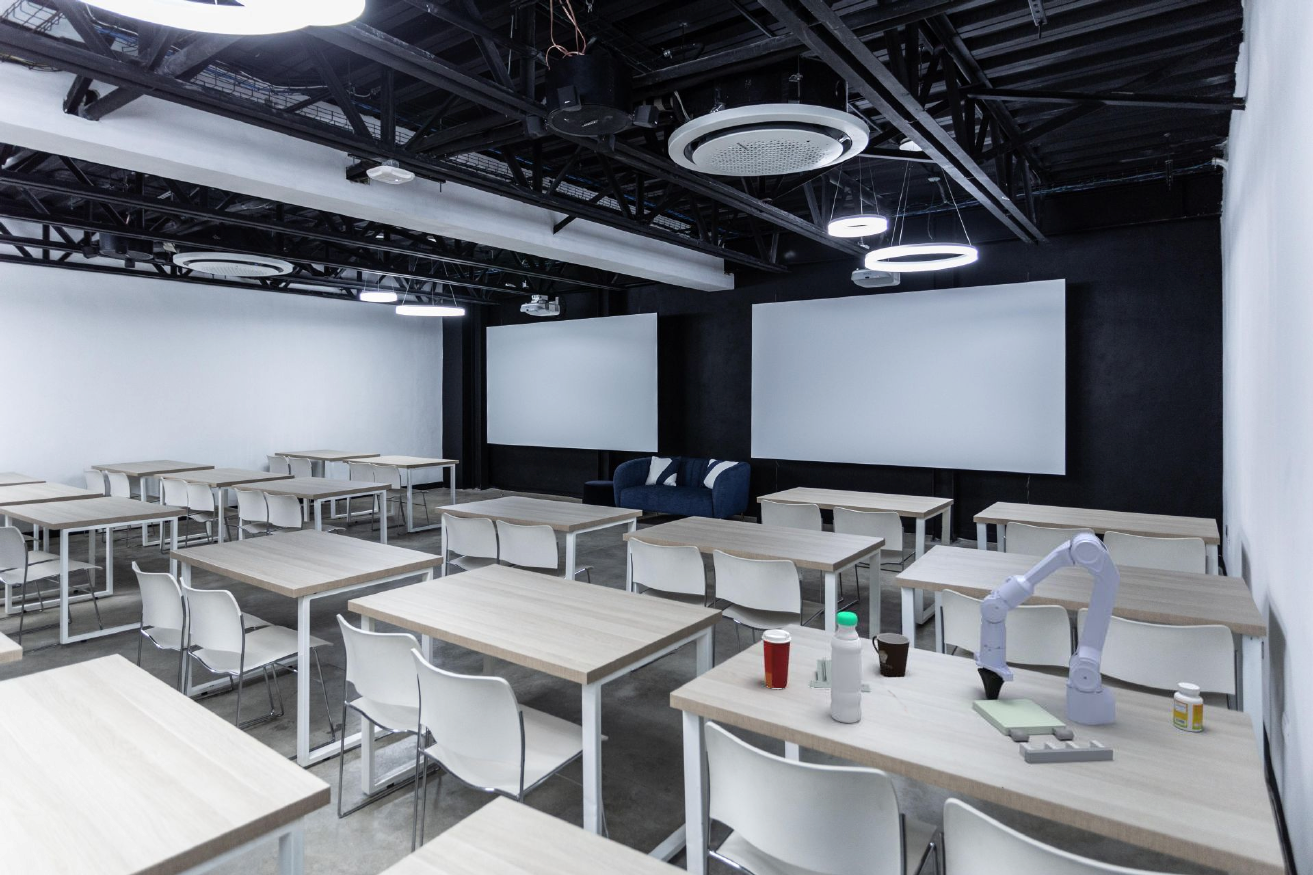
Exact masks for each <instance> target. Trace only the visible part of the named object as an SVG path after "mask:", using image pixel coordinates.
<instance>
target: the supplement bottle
mask: <svg viewBox="0 0 1313 875" xmlns="http://www.w3.org/2000/svg"><path fill="white" fill-rule="evenodd" d="M1177 690H1178V691H1176V692H1175V693H1174V695H1173V712H1172V713H1173V714H1172V715H1173V718H1172V720H1173V721H1172V722H1173V725H1174V726H1175V727H1176V728H1178V729H1180V730H1182V729H1183V731H1186V732H1192V733H1193V732H1194V733H1198V732H1201V731H1202V730H1203V717H1204V715H1203V714H1204V699H1203V698H1202V696H1201V695H1200V692H1201V688H1200V686H1198V685H1197V684H1194V683H1190V682H1189V683H1188V682H1179V683H1178V684H1177Z"/></svg>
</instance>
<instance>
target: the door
mask: <svg viewBox="0 0 1313 875" xmlns="http://www.w3.org/2000/svg"><path fill="white" fill-rule="evenodd" d="M972 709H973V710H974V711H976V712H977V713H978V714H979V715H980V716H981V717H982V718H984V719H985V720H986V721H987V722H988V723H990V724H991V725H992V726H993V727H995V728H996V729H997V730H998V731H999V732H1000V733H1001V734H1003V735H1004V736H1011V739H1012V741H1013V742H1023V741H1026V742H1027V741H1029V740H1030V735H1031V736H1032V735H1055V737H1056V739H1057V740H1073V739H1074V738H1075V734H1074V732H1073V731H1072V730H1071V729H1067V724H1065V723H1064V722H1062V721H1061V720H1060V719H1058V718H1057V717H1055V716H1054V715H1052V714H1051V713H1049V712H1048V711H1046V710H1045V709H1044V708H1042V707H1041V706H1039V705H1038V704H1037V703H1035V702H1034V701H1033V700H1031V699H1029V698H1021V699H1020V698H1018V699H1016V698H1015V699H997V700H988V699H982V700H980V699H979V700H972Z"/></svg>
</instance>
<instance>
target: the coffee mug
mask: <svg viewBox="0 0 1313 875" xmlns="http://www.w3.org/2000/svg"><path fill="white" fill-rule="evenodd" d="M875 639H876V642H877V646H876V644H875ZM910 641H911V640H910V638H909V637H907V636H905V635H903V634H899V633H898V634H897V633H893V632H886V633H879V634H878V635H875V636H872V639H871V642H872V646H873V648H874V650H875V652H876V653H877V654H878V662H879V671H880V672H879V673H880V675H882V676H883V677H885V678H888V679H889V678H905V676H906V671H907V663H908V657H909V648H910Z"/></svg>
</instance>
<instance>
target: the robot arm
mask: <svg viewBox="0 0 1313 875" xmlns="http://www.w3.org/2000/svg"><path fill="white" fill-rule="evenodd" d="M1076 564H1078V565H1079V566H1081V567H1082V568H1083V569H1085V570H1086V571H1087V572H1088V573H1089V574H1090V575H1091V576H1092V577H1093V579H1094V583H1093V587H1092V591H1091V595H1090V600H1089V604H1088V607H1087V611H1086V615H1085V620H1084V623H1083V627H1082V631H1081V636H1080V639H1079V642H1078V645H1077V648H1076V650H1075V653H1073V654H1072V655H1071V657H1070V658H1069V661H1068V667H1069V672H1068V679H1066V683H1065V684H1066V686H1065V717H1066V718H1067V719H1069V720H1070V721H1073V722H1075V723H1078V724H1081V725H1087V726H1097V725H1098V726H1099V725H1102V724H1115V722H1116V698H1115V696H1114V693H1113V691H1112V690H1111V689H1110V688H1109V687H1108V686H1107V685H1102V684H1101V683H1102V675H1101V665H1102V664H1101V663H1102V656H1103V648H1104V645H1105V642H1106V638H1107V633H1108V629H1109V626H1110V623H1111V622H1110V621H1111V619H1112V615H1113V610H1114V606H1115V603H1116V598H1117V595H1118V590H1119V587H1120V582H1121V575H1120V573H1119V570H1118V568H1117V566H1116V564H1115V562H1114V560H1113V558H1112V555H1111V554H1110V552H1109V549H1108V547H1107V545H1106V544H1105V543H1104V542H1103V541H1102V540H1101V539H1100V538H1099V537H1098V536H1096V535H1095V534H1093V533H1090V532H1081V533H1077V534H1076V535H1074V536H1073V538H1072V539H1068V540H1066V541H1065V542H1063V543H1062V544H1060V545H1059V546H1058V547H1056V548H1055V549H1053V550H1052V551H1051V552H1050V553H1049V554H1047V556H1045V557H1044V558H1043V559H1042V560H1040V562H1038V563H1037V564H1036V565H1035V566H1034V567H1032V568H1031V569H1030V570H1028V572H1027V573H1025V574H1024V575H1023V574H1022V575H1021V574H1014V575H1013V576H1011V575H1009V576H1008V577H1006V578H1005V582H1004V583H1003V584H1002V585H1001V586H999V587H998V588H997V589H992V590H991V591H990V594H988V595H986V596H985V597H984V598H983V599H982V602H981V604H980V606H979V608H980V609H979V611H980V612H979V613H980V615H981V617H980V618H981V620H980V621H981V624H980V639H979V640H980V641H979V642H980V646H979V647H980V648H979V651H974V652H973V660H974V661H975V665H976V666H977V667H978V668H977V672H978V674H979V676H980V679H981V680H982V684H983V689H984V693H985V696H986V697H985V698H986V700H999V696H1000V692H1001V691H1002V690H1001V689H1002V687H1003V685H1004V684H1005V682H1008V683H1009V682H1014V673H1013V672H1012V671H1011V669H1010V667H1009V666H1008V664H1007V626H1006V621H1007V620H1006V619H1007V615H1008V612H1009V611H1010V612H1011V611H1014V610H1015V609H1016V608H1018V607H1019V606H1020V605H1022V604H1023V603H1024V602H1025V601H1027V600H1028V599H1029V598H1031V597H1032V596H1033V595H1034V594H1035V586H1036V585H1038V584H1039V583H1041V582H1042V581H1043V580H1045V579H1046V578H1048V577H1049V576H1050V575H1052V574H1053V573H1055V572H1056V571H1058V570H1059V569H1061V568H1063V567H1066V568H1068V567H1076Z"/></svg>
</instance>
